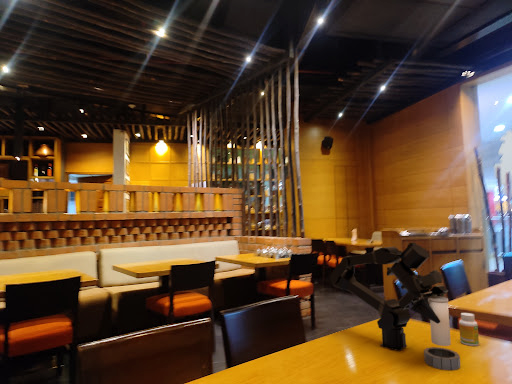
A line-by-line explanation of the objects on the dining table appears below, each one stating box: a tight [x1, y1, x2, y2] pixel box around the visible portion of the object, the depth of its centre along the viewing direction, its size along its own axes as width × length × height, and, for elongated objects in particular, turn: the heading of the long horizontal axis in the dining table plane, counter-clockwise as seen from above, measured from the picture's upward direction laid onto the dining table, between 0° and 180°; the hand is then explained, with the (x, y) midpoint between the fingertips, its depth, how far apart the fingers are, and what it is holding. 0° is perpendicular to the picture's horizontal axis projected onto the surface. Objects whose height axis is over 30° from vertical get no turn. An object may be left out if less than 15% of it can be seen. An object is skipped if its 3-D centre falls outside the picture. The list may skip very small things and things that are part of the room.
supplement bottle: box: [458, 312, 480, 347], centre depth 115 cm, size 5×5×10 cm
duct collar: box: [423, 346, 461, 371], centre depth 99 cm, size 9×9×3 cm
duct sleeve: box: [428, 296, 452, 347], centre depth 100 cm, size 5×5×13 cm
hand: (444, 321), depth 99 cm, fingers closed on duct sleeve, 5 cm apart
